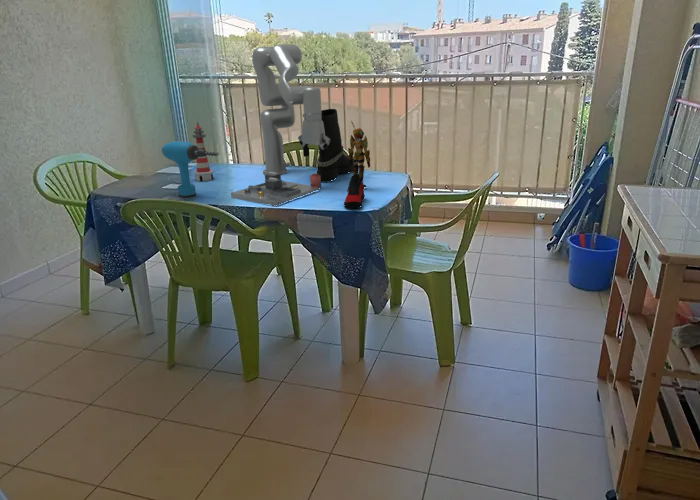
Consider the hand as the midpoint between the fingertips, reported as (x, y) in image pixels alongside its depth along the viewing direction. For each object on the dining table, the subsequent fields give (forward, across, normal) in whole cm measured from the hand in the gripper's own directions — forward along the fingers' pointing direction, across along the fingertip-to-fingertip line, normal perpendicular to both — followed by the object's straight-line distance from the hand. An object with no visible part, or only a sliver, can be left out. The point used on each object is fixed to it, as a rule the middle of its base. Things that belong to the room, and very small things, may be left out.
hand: (314, 157), depth 225 cm
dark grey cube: (+12, -17, -10) cm, 23 cm away
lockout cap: (+14, 0, 0) cm, 14 cm away
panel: (+14, -9, -17) cm, 24 cm away
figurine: (+15, +16, +10) cm, 24 cm away
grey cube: (+12, -9, -18) cm, 23 cm away
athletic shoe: (+15, +28, -10) cm, 34 cm away
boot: (+14, -9, +26) cm, 31 cm away
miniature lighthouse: (+14, -58, -15) cm, 62 cm away
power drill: (+14, -36, -38) cm, 54 cm away
